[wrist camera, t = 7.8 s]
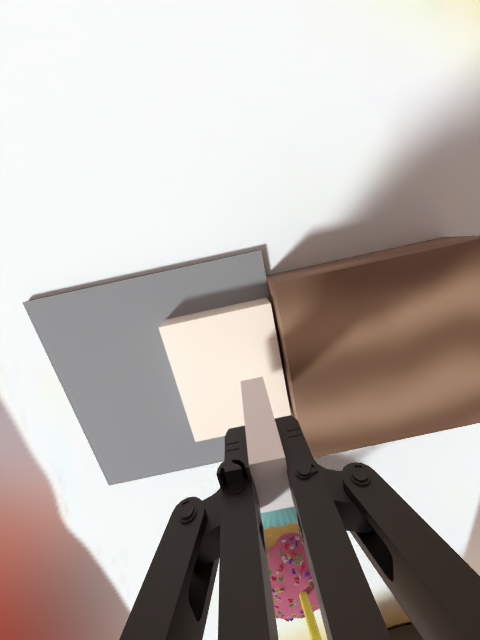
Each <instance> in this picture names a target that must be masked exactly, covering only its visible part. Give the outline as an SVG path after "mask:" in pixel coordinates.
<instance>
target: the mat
mask: <svg viewBox="0 0 480 640" xmlns="http://www.w3.org/2000/svg"><path fill="white" fill-rule="evenodd" d="M262 298H267V299H268V300H269V302H270V303H271V301H270V296H269V290H268V284H267V279H266V273H265V268H264V262H263V256H262V251H261V250H258V251H253V252H249V253H244V254H240V255H235V256H231V257H226V258H222V259H217V260H212V261H208V262H203V263H199V264H194V265H190V266H185V267H180V268H176V269H171V270H167V271H162V272H158V273H153V274H149V275H144V276H139V277H135V278H130V279H126V280H121V281H117V282H112V283H108V284H103V285H98V286H94V287H89V288H85V289H80V290H76V291H71V292H66V293H62V294H57V295H53V296H48V297H44V298H39V299H35V300H30V301H26V302H23V305H24V307H25V309H26V311H27V313H28V315H29V317H30V319H31V321H32V324H33V326H34V328H35V330H36V332H37V334H38V336H39V338H40V341H41V343H42V345H43V347H44V349H45V351H46V353H47V355H48V357H49V360H50V362H51V364H52V366H53V368H54V370H55V372H56V374H57V376H58V379H59V381H60V383H61V385H62V387H63V389H64V391H65V393H66V396H67V398H68V400H69V402H70V404H71V406H72V408H73V410H74V412H75V415H76V417H77V419H78V421H79V423H80V425H81V427H82V429H83V432H84V434H85V436H86V438H87V440H88V442H89V444H90V446H91V448H92V451H93V453H94V455H95V457H96V459H97V461H98V463H99V465H100V467H101V470H102V472H103V474H104V476H105V478H106V480H107V482H108V484H109V485H113V484H118V483H123V482H127V481H132V480H137V479H142V478H146V477H151V476H156V475H161V474H165V473H170V472H175V471H180V470H184V469H189V468H194V467H199V466H203V465H208V464H213V463H217V462H222V461H224V457H225V436H222V437H217V438H212V439H207V440H203V441H198V442H195V439H194V436H193V433H192V430H191V427H190V424H189V421H188V418H187V415H186V412H185V408H184V405H183V402H182V399H181V396H180V393H179V390H178V387H177V384H176V381H175V377H174V374H173V371H172V368H171V365H170V362H169V359H168V356H167V353H166V350H165V346H164V343H163V340H162V337H161V334H160V331H159V326H160V325H161V324H162V323H163V322H164V320H166V319H170V318H175V317H179V316H184V315H189V314H193V313H198V312H202V311H207V310H211V309H216V308H221V307H225V306H230V305H234V304H239V303H243V302H248V301H253V300H257V299H262ZM271 308H272V307H271ZM272 313H273V312H272ZM273 319H274V318H273ZM274 324H275V323H274ZM275 330H276V329H275ZM277 341H278V340H277ZM279 352H280V351H279ZM282 369H283V368H282ZM284 380H285V379H284Z"/></svg>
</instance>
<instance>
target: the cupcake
mask: <svg viewBox="0 0 480 640" xmlns="http://www.w3.org/2000/svg"><path fill="white" fill-rule="evenodd" d="M260 513H261V512H260ZM261 520H262V524H263V528H264V536H265V543H266V551H267V558H268V565H269V573H270V580H271V588H272V595H273V603H274V610H275V617H276V618H278V617H279V618H281V619H285V620H286V621H289V620H291V621H292V620H293V618H303V617H305V618H306V622H307V626H308V629H309V633H310V636H311V640H321V637H320V634H319V630H318V627H317V624H316V621H315V617H314V614H313V611H315V610H317V609H319V608H320V607H319V603H318V599H317V595H316V591H315V587H314V584H313V580H312V576H311V572H310V568H309V564H308V560H307V556H306V552H305V548H304V544H303V541H302V537H301V533H300V532H299V526H298V521H297V516H296V511H295V507H289V508H284V509H279V510H274V511H269V512H264V513H261Z"/></svg>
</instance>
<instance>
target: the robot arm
mask: <svg viewBox="0 0 480 640" xmlns="http://www.w3.org/2000/svg"><path fill="white" fill-rule="evenodd" d="M240 383H241V392H242V402H243V412H244V422H245V425H244V426H240V427H235V428H230V429H228V431H227V433H226V435H225V457H224V462H223V463H221V465H220V466H219V468H218V470H217V477H218V480H219V484H220V489H219V490H218V491H217V492H216V493H215V494H213V495H212V496H210V497H208V498H207V499H205V500H203V501H202V500H200V499H199V498H197V497H189V498H186V499H184V500H182V501H181V502H180V503H179V504H178V505H177V506H176V507H175V509H174V511H173V512H172V515H171V517H170V519H169V522H168V524H167V527H166V529H165V531H164V534H163V536H162V539H161V541H160V543H159V546H158V548H157V551H156V553H155V555H154V558H153V560H152V563H151V565H150V567H149V570H148V572H147V575H146V577H145V579H144V582H143V584H142V587H141V589H140V591H139V594H138V596H137V599H136V601H135V603H134V606H133V608H132V611H131V613H130V615H129V618H128V620H127V623H126V625H125V628H124V630H123V632H122V635H121V637H120V640H202V638H203V633H204V629H205V624H206V619H207V615H208V610H209V605H210V601H211V596H212V591H213V586H214V582H215V577H216V572H217V568H218V563H219V558H220V569H219V619H218V640H278V633H277V625H276V618H275V610H274V603H273V595H272V588H271V580H270V573H269V565H268V558H267V551H266V543H265V536H264V528H263V524H262V520H261V513H264V512H269V511H274V510H279V509H284V508H289V507H295V511H296V516H297V521H298V526H299V532H300V533H301V537H302V541H303V544H304V548H305V552H306V556H307V560H308V564H309V568H310V572H311V576H312V580H313V584H314V587H315V591H316V595H317V599H318V603H319V607H320V611H321V615H322V619H323V623H324V627H325V630H326V634H327V638H328V640H480V576H479V575H478V574H477V573H476V572H475V571H474V570H473V569H472V568H471V567H470V566H469V565H468V564H467V563H466V562H465V561H464V560H463V559H462V558H461V557H460V556H459V555H458V554H457V553H456V552H455V551H454V550H453V549H452V548H451V547H450V546H449V545H448V544H447V543H446V542H445V541H444V540H443V539H442V538H441V537H440V536H439V535H438V534H437V533H436V532H435V531H434V530H433V529H432V528H431V527H430V526H429V525H428V524H427V523H426V522H425V521H424V520H423V519H422V518H421V517H420V516H419V515H418V514H417V513H416V512H415V511H414V510H413V509H412V508H411V507H410V506H409V505H408V504H407V503H406V502H405V501H404V500H403V499H402V498H401V497H400V496H399V495H398V494H397V493H396V492H395V491H394V490H393V489H392V488H391V487H390V486H389V485H388V484H387V483H386V482H385V481H384V480H383V479H382V478H381V477H380V476H379V475H378V474H377V473H376V472H375V471H374V470H373V469H372V468H371V467H369V466H368V465H365V464H362V463H350V464H348V465H346V466H345V467H344V468H343V471H334V470H328V469H325V468H323V467H321V466H320V465H318V464H317V463H316V462H315V460H314V458H313V456H312V454H311V452H310V449H309V447H308V444H307V442H306V439H305V437H304V435H303V432H302V430H301V427H300V425H299V422H298V420H297V419H295V418H294V417H293V416H292V415H289V416H285V417H280V418H275V419H274V415H273V412H272V408H271V404H270V401H269V397H268V394H267V390H266V386H265V383H264V379H263V377H258V378H253V379H248V380H243V381H240ZM260 512H261V513H260ZM346 530H347V531H350V532H351V534H352V535H353V537H354V538H355V540H356V541H357V543H358V544H359V545H360V547H361V548H362V550H363V551H364V553H365V554H366V556H367V557H368V559H369V560H370V562H371V563H372V565H373V566H374V567H375V569H376V570H377V572H378V573H379V575H380V576H381V578H382V579H383V581H384V582H385V584H386V585H387V587H388V588H389V589H390V591H391V592H392V594H393V595H394V597H395V598H396V600H397V601H398V603H399V604H400V606H401V607H402V609H403V610H404V612H405V613H406V614H407V616H408V617H409V619H410V620H411V622H412V623H413V624H410V625H405V626H400V627H397V628H394V629H391V630H387V628H386V625H385V623H384V620H383V618H382V616H381V613H380V611H379V608H378V606H377V604H376V601H375V599H374V596H373V594H372V592H371V589H370V587H369V584H368V582H367V580H366V577H365V575H364V572H363V570H362V568H361V565H360V563H359V560H358V558H357V556H356V553H355V551H354V549H353V546H352V544H351V541H350V539H349V537H348V534H347V532H346Z"/></svg>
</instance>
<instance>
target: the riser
mask: <svg viewBox="0 0 480 640" xmlns="http://www.w3.org/2000/svg"><path fill="white" fill-rule="evenodd" d="M266 279H267V284H268V290H269V296H270V301H271V307H272V312H273V318H274V323H275V329H276V335H277V340H278V346H279V351H280V357H281V363H282V368H283V374H284V379H285V385H286V391H287V396H288V402H289V407H290V413H291V415H292V416H293V417H294V418H295V419H297V420H298V422H299V425H300V427H301V430H302V432H303V435H304V437H305V439H306V442H307V444H308V447H309V449H310V452H311V454H312V456H313V458H315V457H320V456H324V455H329V454H334V453H339V452H343V451H348V450H353V449H358V448H362V447H367V446H372V445H377V444H381V443H386V442H391V441H396V440H400V439H405V438H410V437H415V436H419V435H424V434H429V433H434V432H438V431H443V430H448V429H453V428H457V427H462V426H467V425H472V424H476V423H480V236H461V237H443V238H438V239H434V240H429V241H425V242H420V243H415V244H411V245H406V246H402V247H397V248H392V249H388V250H383V251H379V252H374V253H370V254H365V255H360V256H356V257H351V258H347V259H342V260H337V261H333V262H328V263H324V264H319V265H315V266H310V267H305V268H301V269H296V270H292V271H287V272H283V273H278V274H273V275H269V276H266Z"/></svg>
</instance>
